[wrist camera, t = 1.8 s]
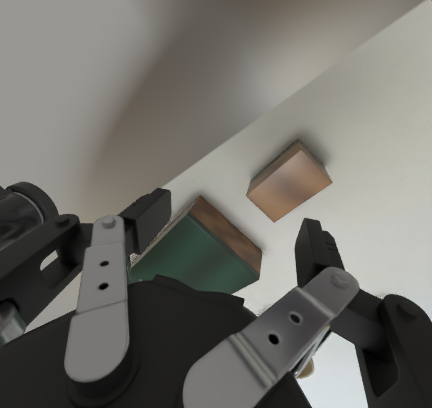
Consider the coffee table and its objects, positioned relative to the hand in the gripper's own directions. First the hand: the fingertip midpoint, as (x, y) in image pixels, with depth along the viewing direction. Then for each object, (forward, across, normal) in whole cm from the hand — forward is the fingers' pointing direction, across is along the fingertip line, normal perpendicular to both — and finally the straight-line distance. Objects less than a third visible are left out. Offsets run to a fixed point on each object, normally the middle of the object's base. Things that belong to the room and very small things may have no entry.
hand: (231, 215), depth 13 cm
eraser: (+18, -4, +3) cm, 18 cm away
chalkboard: (+18, +10, +24) cm, 31 cm away
